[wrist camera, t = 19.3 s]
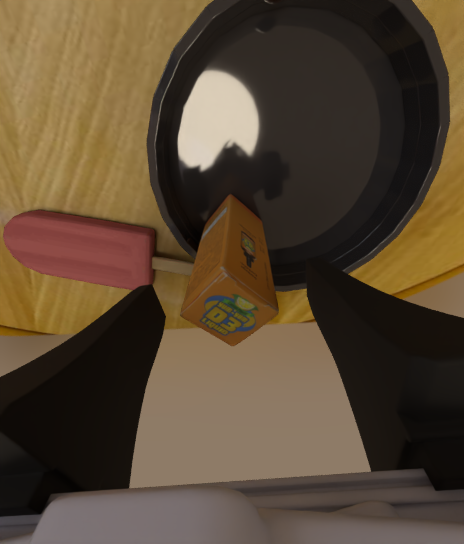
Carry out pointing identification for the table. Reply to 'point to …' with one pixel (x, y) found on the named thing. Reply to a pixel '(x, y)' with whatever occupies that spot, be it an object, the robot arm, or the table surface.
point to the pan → (301, 126)
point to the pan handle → (273, 1)
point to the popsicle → (87, 249)
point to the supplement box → (231, 276)
